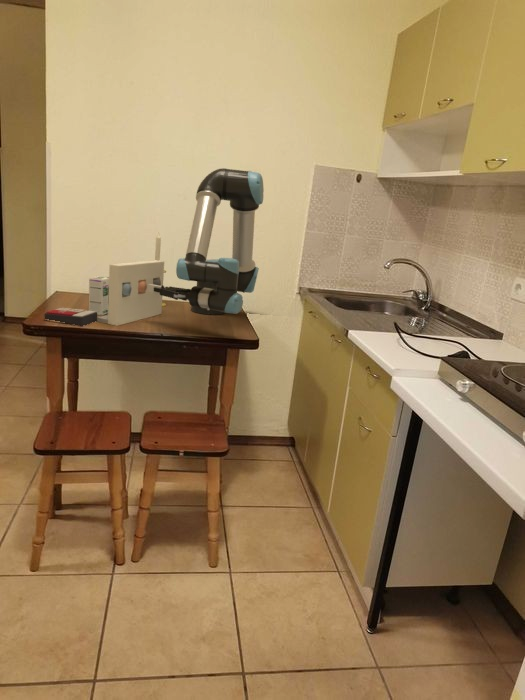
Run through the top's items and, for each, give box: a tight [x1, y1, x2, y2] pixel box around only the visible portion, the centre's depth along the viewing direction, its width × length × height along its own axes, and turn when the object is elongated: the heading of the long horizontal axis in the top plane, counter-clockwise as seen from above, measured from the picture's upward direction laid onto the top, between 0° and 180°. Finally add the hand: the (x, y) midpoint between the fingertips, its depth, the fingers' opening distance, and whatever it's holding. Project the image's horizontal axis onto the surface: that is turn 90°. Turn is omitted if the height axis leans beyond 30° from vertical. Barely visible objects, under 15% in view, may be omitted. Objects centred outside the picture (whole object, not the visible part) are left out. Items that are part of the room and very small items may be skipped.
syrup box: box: [88, 275, 109, 317], centre depth 203 cm, size 6×6×14 cm
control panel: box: [96, 259, 165, 327], centre depth 201 cm, size 30×9×22 cm, turn 158°
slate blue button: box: [122, 283, 131, 296], centre depth 191 cm, size 4×4×4 cm
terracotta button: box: [138, 281, 147, 293], centre depth 200 cm, size 4×4×4 cm
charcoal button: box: [153, 278, 161, 286], centre depth 209 cm, size 4×4×4 cm
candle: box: [154, 232, 167, 307], centre depth 230 cm, size 10×10×32 cm
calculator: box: [44, 307, 98, 327], centre depth 189 cm, size 11×4×15 cm
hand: (148, 287), depth 198 cm, fingers closed
